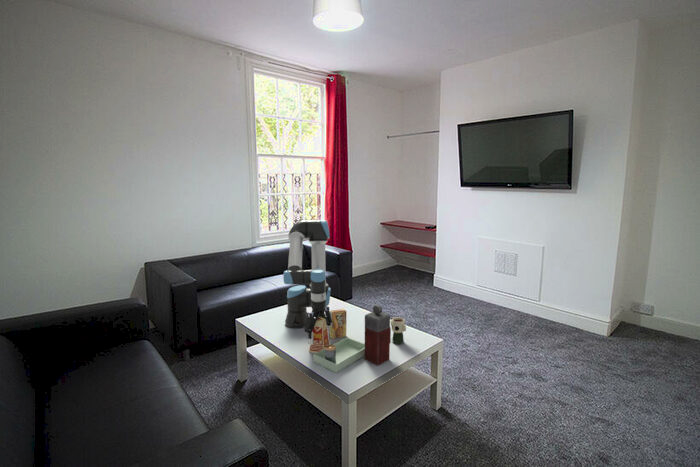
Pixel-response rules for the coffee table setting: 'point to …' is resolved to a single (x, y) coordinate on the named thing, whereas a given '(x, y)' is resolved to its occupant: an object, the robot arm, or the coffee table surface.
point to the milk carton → (319, 336)
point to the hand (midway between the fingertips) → (319, 340)
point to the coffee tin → (330, 353)
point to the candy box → (338, 323)
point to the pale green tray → (341, 355)
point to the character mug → (398, 329)
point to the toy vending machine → (377, 336)
